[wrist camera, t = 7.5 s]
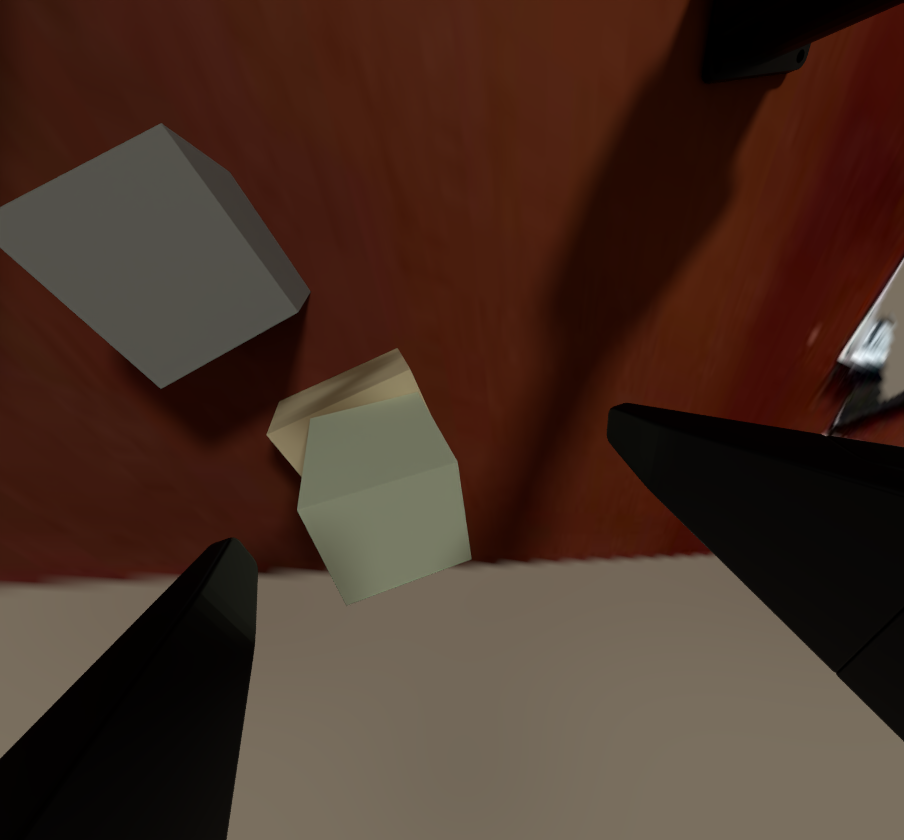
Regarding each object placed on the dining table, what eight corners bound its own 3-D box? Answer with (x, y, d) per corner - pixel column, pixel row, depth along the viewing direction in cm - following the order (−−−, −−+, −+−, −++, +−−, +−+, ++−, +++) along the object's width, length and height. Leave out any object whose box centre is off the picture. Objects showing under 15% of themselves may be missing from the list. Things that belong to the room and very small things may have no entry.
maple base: (396, 346, 18) (410, 369, 15) (438, 439, 22) (457, 473, 19) (279, 399, 18) (266, 434, 14) (344, 485, 21) (345, 529, 18)
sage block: (417, 391, 15) (457, 461, 10) (433, 471, 18) (471, 559, 13) (310, 418, 14) (297, 510, 9) (342, 499, 17) (346, 605, 12)
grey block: (230, 172, 13) (161, 123, 8) (310, 291, 16) (298, 312, 10) (117, 232, 13) (-29, 222, 8) (218, 342, 15) (160, 388, 10)
